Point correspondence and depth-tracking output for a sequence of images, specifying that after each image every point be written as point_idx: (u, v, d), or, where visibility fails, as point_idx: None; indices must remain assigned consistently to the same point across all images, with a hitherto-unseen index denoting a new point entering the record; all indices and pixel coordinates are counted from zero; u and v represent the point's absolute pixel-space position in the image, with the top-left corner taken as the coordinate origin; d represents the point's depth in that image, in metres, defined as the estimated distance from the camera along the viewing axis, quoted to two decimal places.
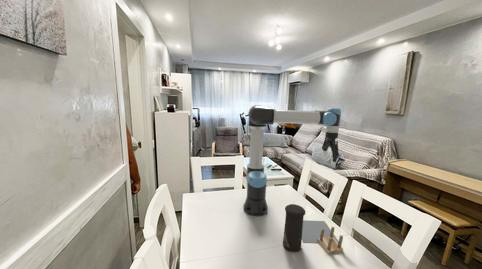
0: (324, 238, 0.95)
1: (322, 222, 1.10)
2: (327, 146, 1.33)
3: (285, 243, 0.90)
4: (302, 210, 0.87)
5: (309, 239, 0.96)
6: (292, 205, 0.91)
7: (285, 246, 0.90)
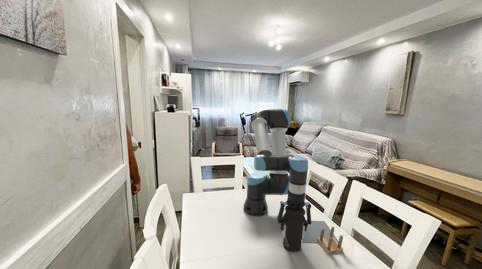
0: (324, 238, 0.95)
1: (322, 222, 1.10)
2: None
3: (285, 243, 0.90)
4: (302, 210, 0.87)
5: (309, 239, 0.96)
6: None
7: (285, 246, 0.90)
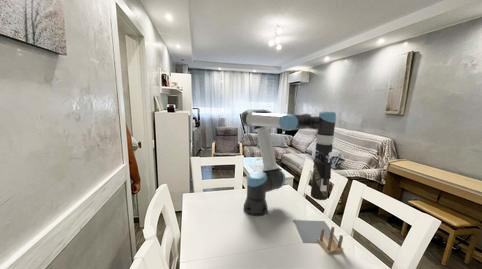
0: (324, 238, 0.95)
1: (322, 222, 1.10)
2: None
3: (325, 195, 0.96)
4: None
5: (309, 239, 0.96)
6: (318, 159, 0.96)
7: (325, 197, 0.96)
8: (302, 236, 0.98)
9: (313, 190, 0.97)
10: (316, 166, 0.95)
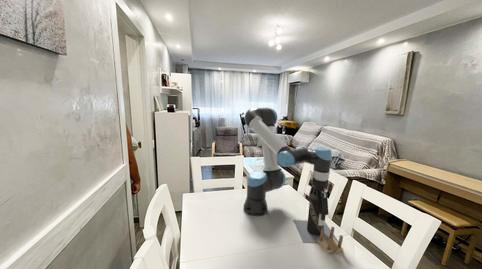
0: (324, 238, 0.95)
1: None
2: None
3: None
4: None
5: (309, 239, 0.96)
6: (314, 196, 0.99)
7: None
8: (302, 236, 0.98)
9: (309, 225, 1.01)
10: (312, 203, 0.99)
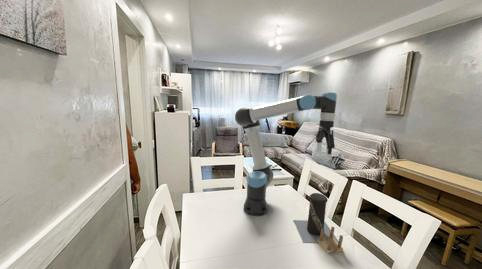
0: (324, 238, 0.95)
1: None
2: (321, 137, 1.17)
3: None
4: None
5: (309, 239, 0.96)
6: (314, 196, 0.99)
7: None
8: (302, 236, 0.98)
9: (309, 225, 1.01)
10: (312, 203, 0.98)
